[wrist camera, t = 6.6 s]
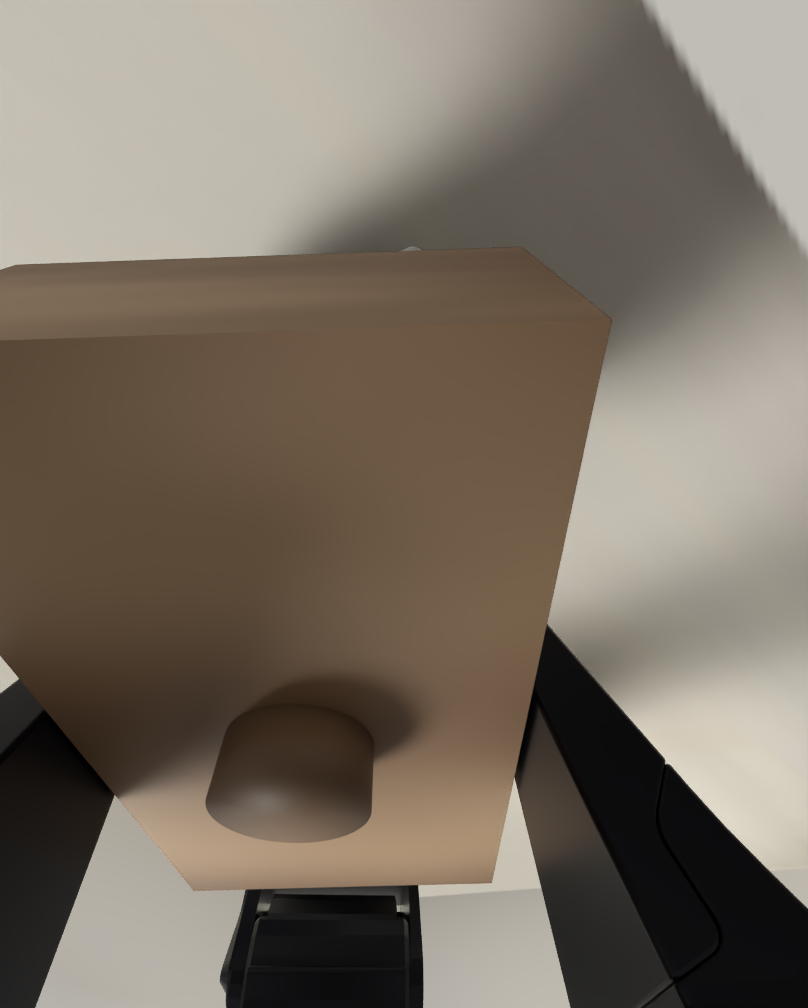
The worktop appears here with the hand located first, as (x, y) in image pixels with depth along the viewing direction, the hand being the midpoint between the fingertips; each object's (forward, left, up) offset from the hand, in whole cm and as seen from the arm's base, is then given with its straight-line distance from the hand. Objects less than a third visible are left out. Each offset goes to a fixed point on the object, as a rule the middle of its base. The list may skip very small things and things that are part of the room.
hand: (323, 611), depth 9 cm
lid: (0, 0, -1) cm, 1 cm away
